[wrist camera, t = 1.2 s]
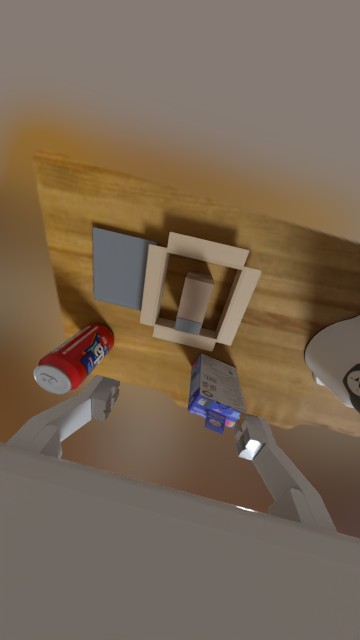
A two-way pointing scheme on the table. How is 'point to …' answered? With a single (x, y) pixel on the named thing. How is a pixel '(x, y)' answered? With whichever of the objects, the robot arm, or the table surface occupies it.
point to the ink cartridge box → (215, 393)
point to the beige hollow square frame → (209, 253)
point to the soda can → (74, 359)
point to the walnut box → (194, 302)
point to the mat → (119, 267)
